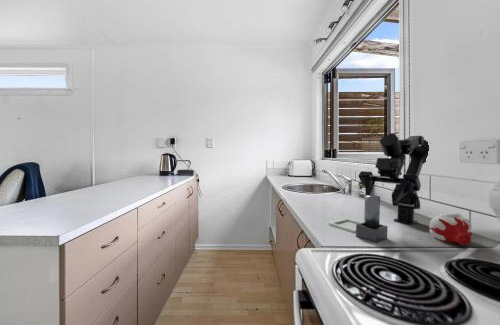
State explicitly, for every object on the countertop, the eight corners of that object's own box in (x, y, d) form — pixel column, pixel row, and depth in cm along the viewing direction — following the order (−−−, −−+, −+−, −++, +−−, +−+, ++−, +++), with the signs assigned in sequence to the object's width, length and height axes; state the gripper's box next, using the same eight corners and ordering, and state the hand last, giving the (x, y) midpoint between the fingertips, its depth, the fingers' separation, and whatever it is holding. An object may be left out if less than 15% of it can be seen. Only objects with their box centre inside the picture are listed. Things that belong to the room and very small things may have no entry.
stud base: (367, 235, 83) (367, 223, 83) (388, 241, 77) (388, 229, 77) (355, 239, 79) (355, 227, 79) (376, 246, 73) (376, 233, 73)
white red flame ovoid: (455, 234, 82) (488, 258, 68) (418, 231, 85) (443, 254, 70) (459, 209, 81) (493, 228, 67) (421, 207, 83) (447, 225, 69)
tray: (346, 222, 98) (346, 218, 98) (372, 230, 88) (372, 225, 88) (328, 227, 92) (328, 222, 92) (355, 235, 82) (355, 230, 82)
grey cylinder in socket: (367, 232, 83) (368, 193, 82) (387, 238, 77) (388, 196, 76) (356, 236, 79) (356, 195, 78) (375, 242, 73) (376, 198, 73)
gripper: (361, 150, 91) (346, 181, 85) (419, 149, 77) (406, 187, 71) (369, 169, 97) (356, 200, 90) (425, 172, 83) (414, 209, 76)
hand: (380, 199), depth 82 cm, fingers open, 9 cm apart
